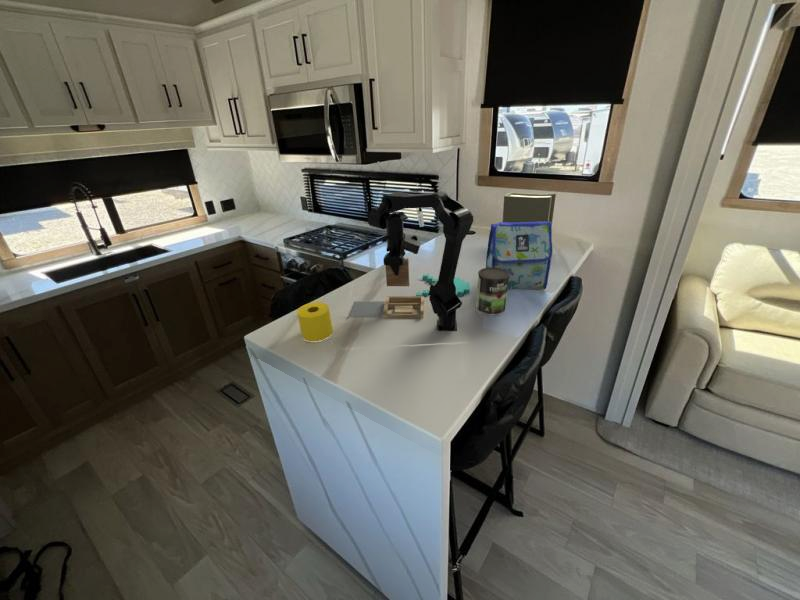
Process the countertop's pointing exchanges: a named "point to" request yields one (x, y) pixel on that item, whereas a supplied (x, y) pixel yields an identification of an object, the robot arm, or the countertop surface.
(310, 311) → the yellow paper roll
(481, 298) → the coffee can
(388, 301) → the rack
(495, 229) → the lunch bag
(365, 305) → the mat
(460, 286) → the alien figure
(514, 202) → the book
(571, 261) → the countertop surface
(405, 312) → the offcut upper
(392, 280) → the wooden block
